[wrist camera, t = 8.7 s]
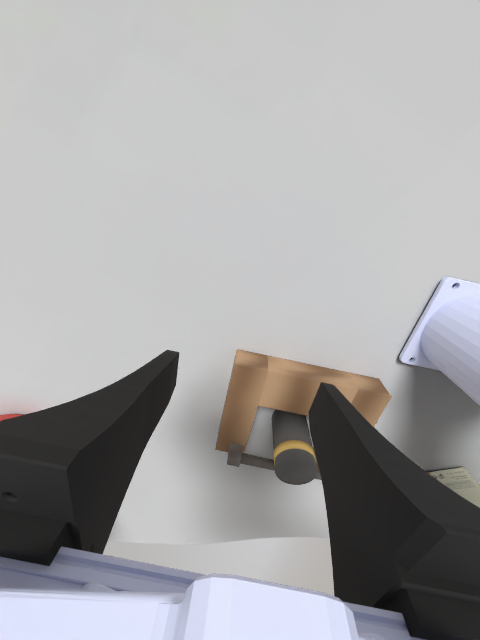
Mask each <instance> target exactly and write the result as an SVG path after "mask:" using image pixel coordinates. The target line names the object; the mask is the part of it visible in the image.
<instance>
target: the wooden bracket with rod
mask: <svg viewBox="0 0 480 640" xmlns="http://www.w3.org/2000/svg"><path fill="white" fill-rule="evenodd" d="M321 382H324V383H329V384H333V385H334V386H335V387H336V388H337V389H338V390H339V391H340V392H341V393H342V394H343V395H344V396H345V397H346V399H347V400H348V401H349V402H350V403H351V404H352V405H353V406H354V407H355V408H356V409H357V411H358V412H359V413H360V414H361V415H362V416H363V417H364V418H365V419H366V420H367V421H368V422H369V423H370V424H371V425H372V426H373V427H374V426H375V424H376V422H377V421H378V419H379V417H380V415H381V414H382V412H383V410H384V409H385V407H386V405H387V404H388V402H389V400H390V398H391V396H390V394H389V393H388V391H387V390H386V388H385V387H384V386H383V384H382V383H381V381H380V380H379V379H377V378H372V377H367V376H362V375H358V374H353V373H348V372H343V371H338V370H334V369H329V368H324V367H319V366H315V365H310V364H305V363H300V362H295V361H291V360H286V359H281V358H276V357H272V356H267V355H262V354H257V353H252V352H248V351H243V350H238V349H237V352H236V356H235V361H234V365H233V370H232V374H231V379H230V383H229V388H228V392H227V396H226V401H225V405H224V410H223V414H222V419H221V423H220V428H219V433H218V438H217V443H216V449H215V450H220V451H225V452H229V453H228V460H227V464H228V465H233V466H238V467H239V464H240V463H241V464H246V465H251V466H256V467H260V468H265V469H270V470H275V465H274V460H272V459H268V458H263V457H258V456H253V455H248V454H244V451H245V448H246V444H247V441H248V438H249V434H250V431H251V428H252V424H253V421H254V418H255V415H256V411H257V408H258V406H263V407H267V408H272V409H277V410H282V411H287V412H292V413H296V414H301V415H306V416H309V413H308V412H309V410H310V407H311V405H312V403H313V400H314V398H315V395H316V393H317V391H318V388H319V386H320V383H321ZM313 450H314V448H313ZM314 454H315V450H314ZM315 458H316V454H315ZM316 465H317V470H318V472H317V475H316V477H315V479H320V480H322V479H321V474H320V470H319V466H318V462H317V458H316Z"/></svg>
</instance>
